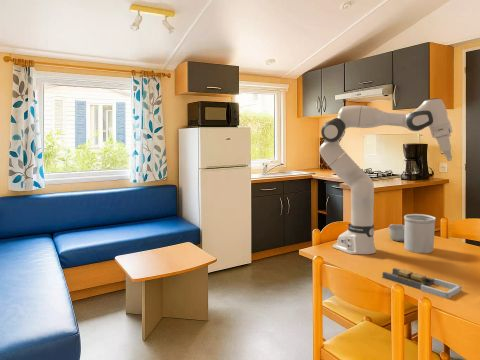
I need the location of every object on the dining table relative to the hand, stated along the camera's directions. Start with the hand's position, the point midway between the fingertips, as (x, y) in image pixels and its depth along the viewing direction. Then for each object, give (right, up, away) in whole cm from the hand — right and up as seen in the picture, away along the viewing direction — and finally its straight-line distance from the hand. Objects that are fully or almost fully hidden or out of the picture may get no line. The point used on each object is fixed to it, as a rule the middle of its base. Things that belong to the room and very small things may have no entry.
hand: (449, 159), depth 182 cm
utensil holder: (-5, -46, +21) cm, 51 cm away
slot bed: (-30, -52, -24) cm, 65 cm away
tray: (-22, -53, -35) cm, 67 cm away
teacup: (-8, -44, +41) cm, 61 cm away
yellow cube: (-28, -51, -27) cm, 64 cm away
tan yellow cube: (-31, -51, -23) cm, 64 cm away
